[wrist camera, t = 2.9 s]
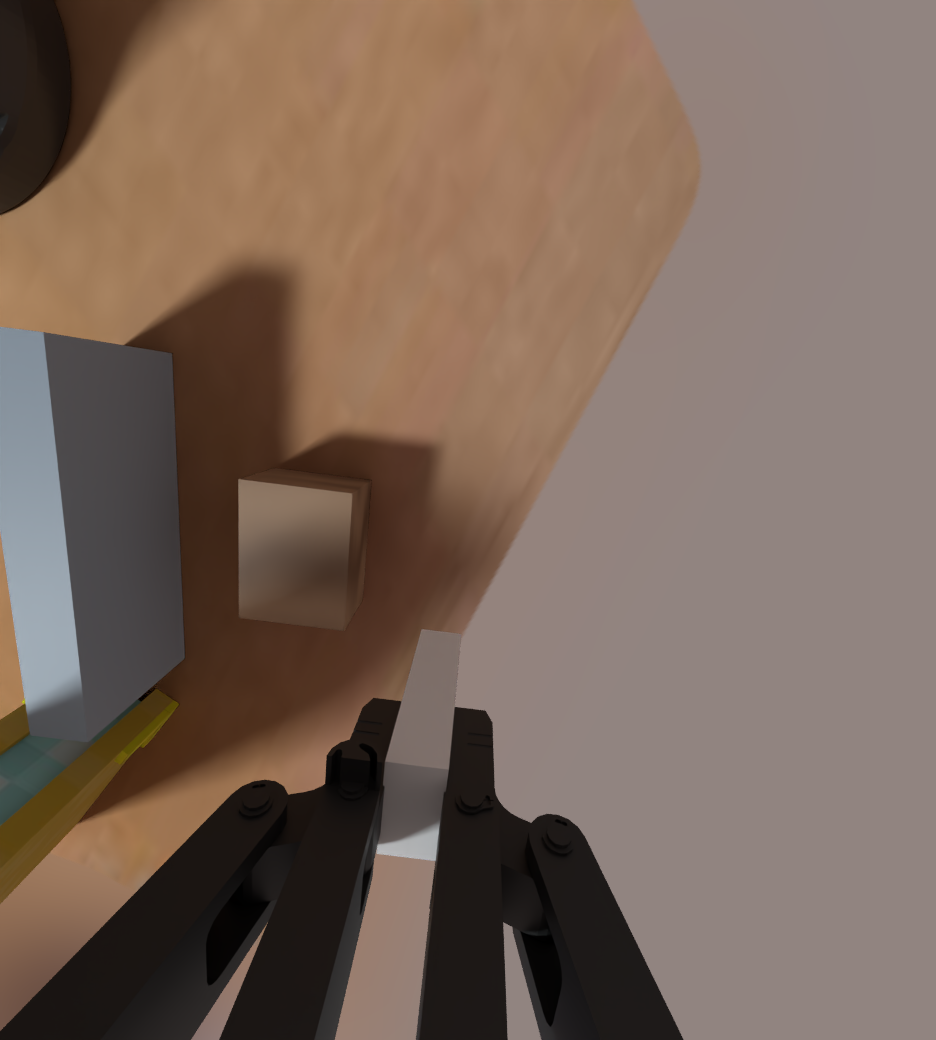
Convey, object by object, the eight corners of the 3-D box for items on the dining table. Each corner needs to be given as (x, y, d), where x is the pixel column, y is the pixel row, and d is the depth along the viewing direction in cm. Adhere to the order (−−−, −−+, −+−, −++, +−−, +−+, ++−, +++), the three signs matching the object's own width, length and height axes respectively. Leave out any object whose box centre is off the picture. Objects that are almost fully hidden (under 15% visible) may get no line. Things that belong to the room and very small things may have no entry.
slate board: (120, 346, 26) (-30, 323, 18) (172, 353, 26) (43, 332, 18) (141, 653, 31) (30, 735, 23) (185, 658, 31) (87, 742, 24)
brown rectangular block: (275, 467, 28) (238, 479, 24) (372, 479, 28) (352, 493, 24) (273, 586, 30) (238, 617, 26) (363, 598, 30) (344, 630, 26)
